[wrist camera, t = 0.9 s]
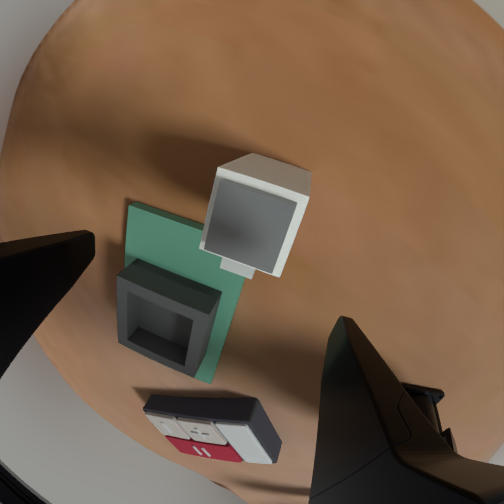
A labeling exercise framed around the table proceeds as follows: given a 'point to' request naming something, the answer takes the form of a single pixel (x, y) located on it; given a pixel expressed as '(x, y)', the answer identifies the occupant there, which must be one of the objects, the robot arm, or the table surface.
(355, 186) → the table surface
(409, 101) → the table surface
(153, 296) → the board
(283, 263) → the plug
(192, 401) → the dark panelled flat block
